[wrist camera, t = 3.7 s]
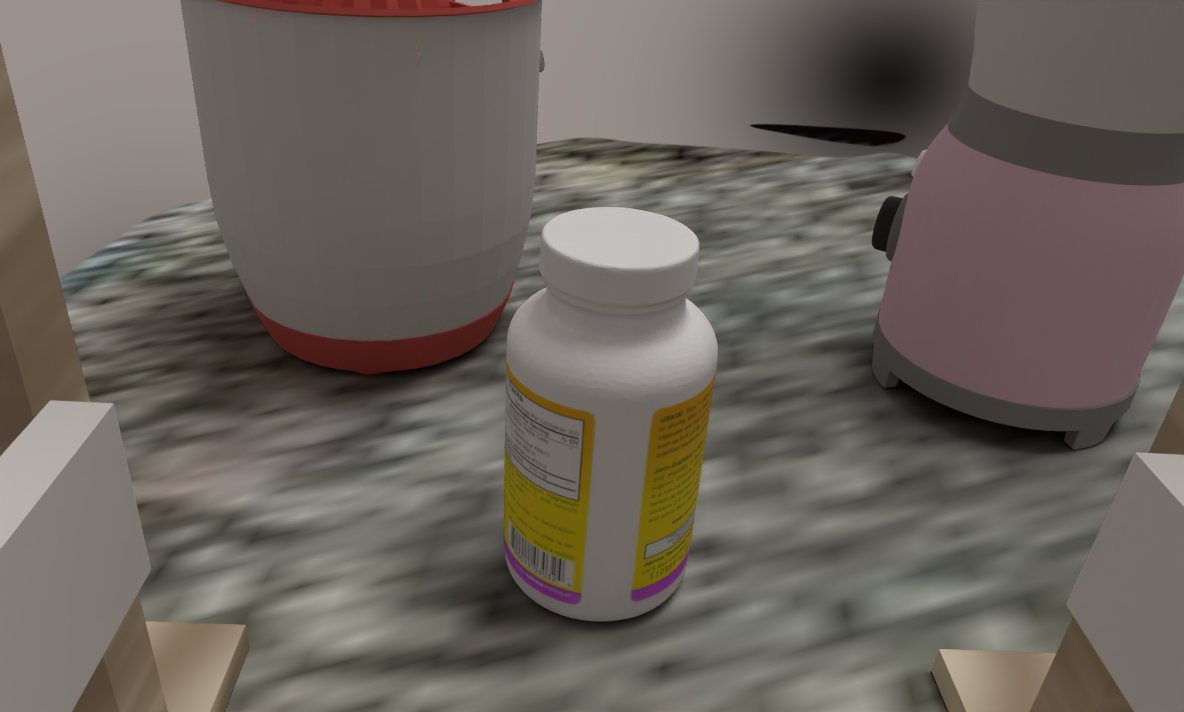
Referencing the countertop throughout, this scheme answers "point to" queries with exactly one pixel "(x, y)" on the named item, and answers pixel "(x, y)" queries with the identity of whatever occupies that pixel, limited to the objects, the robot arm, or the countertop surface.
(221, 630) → the gate frame
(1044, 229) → the blender
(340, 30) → the citrus juicer
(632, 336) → the supplement bottle
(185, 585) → the countertop surface
